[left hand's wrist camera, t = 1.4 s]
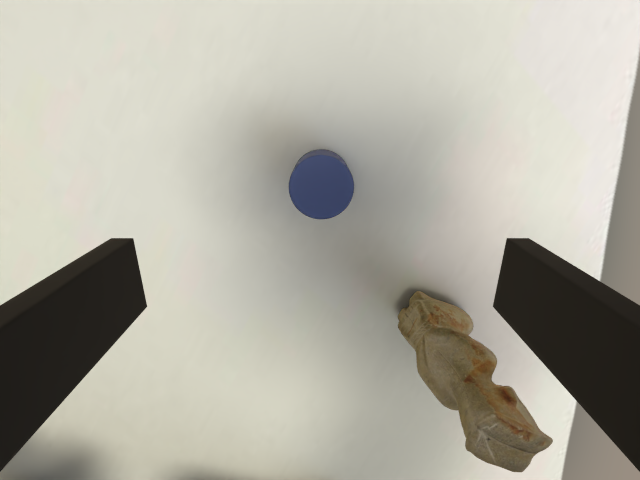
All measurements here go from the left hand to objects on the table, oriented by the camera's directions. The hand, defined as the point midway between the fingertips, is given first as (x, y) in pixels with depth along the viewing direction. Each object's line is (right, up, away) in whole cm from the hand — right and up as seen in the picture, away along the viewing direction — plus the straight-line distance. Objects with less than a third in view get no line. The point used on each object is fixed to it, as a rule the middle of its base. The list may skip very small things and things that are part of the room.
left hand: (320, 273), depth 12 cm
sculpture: (+11, -6, +23) cm, 26 cm away
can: (0, +7, +18) cm, 19 cm away
